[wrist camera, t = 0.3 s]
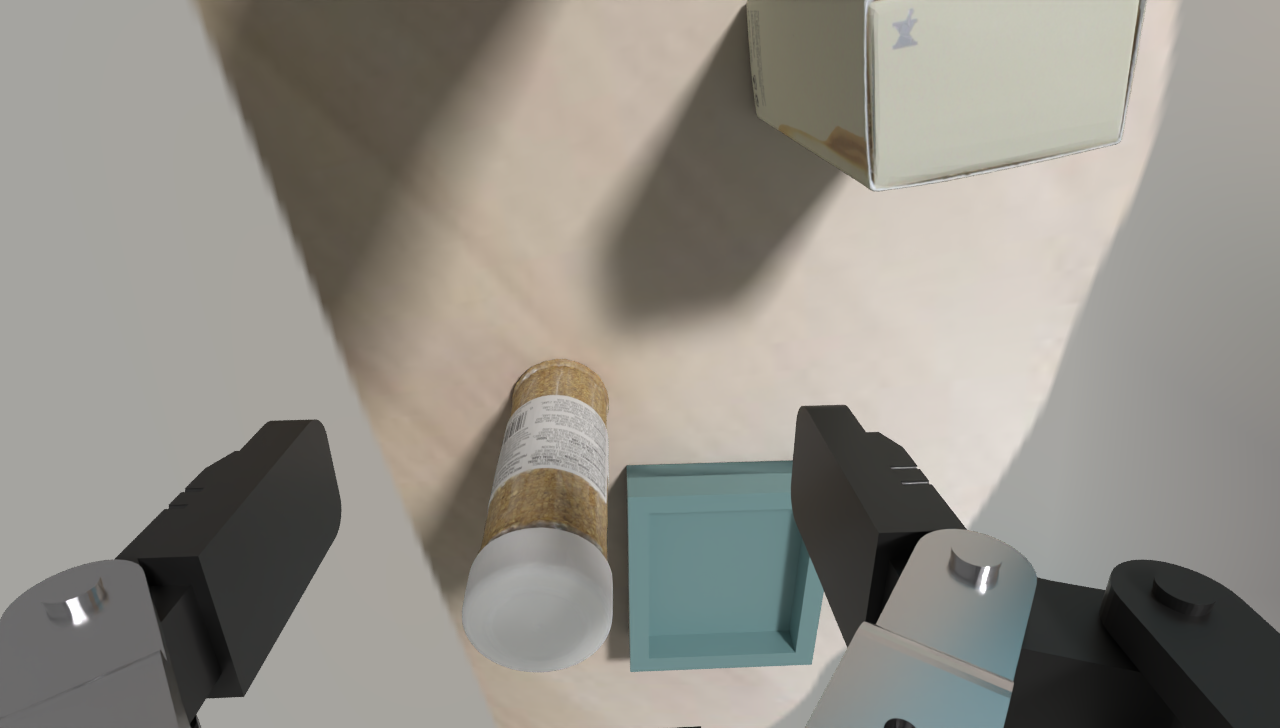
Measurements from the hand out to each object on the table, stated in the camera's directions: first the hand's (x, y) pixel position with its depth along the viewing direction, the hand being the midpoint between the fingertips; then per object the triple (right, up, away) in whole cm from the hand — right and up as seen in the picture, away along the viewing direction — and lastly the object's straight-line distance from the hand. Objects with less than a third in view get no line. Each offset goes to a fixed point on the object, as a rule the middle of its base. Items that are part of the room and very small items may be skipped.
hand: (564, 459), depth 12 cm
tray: (+6, -9, +26) cm, 28 cm away
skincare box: (+9, +14, +14) cm, 22 cm away
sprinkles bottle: (-2, 0, +21) cm, 21 cm away
